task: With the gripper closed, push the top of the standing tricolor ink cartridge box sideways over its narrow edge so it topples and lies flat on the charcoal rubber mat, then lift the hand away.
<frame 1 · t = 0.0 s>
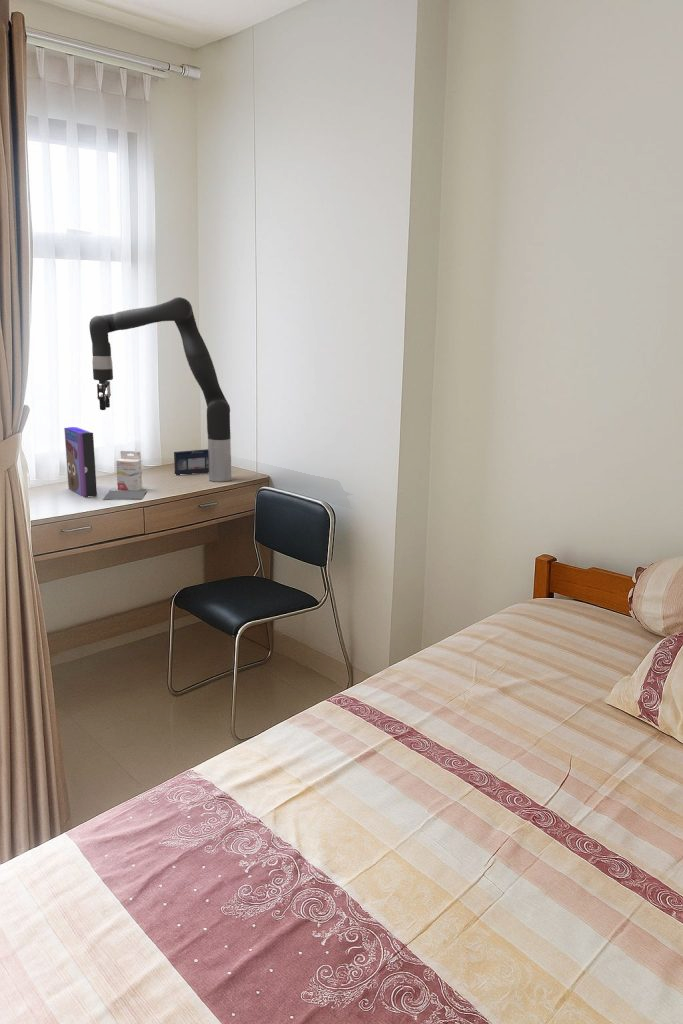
hand: (105, 408, 312), 29 cm above the table, tool pointing down, fingers open, 8 cm apart
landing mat: (125, 495, 293), on the table
ink cartridge box: (130, 489, 304), on the table
vhs cassette tape: (195, 473, 336), on the table
cereal box: (82, 492, 297), on the table
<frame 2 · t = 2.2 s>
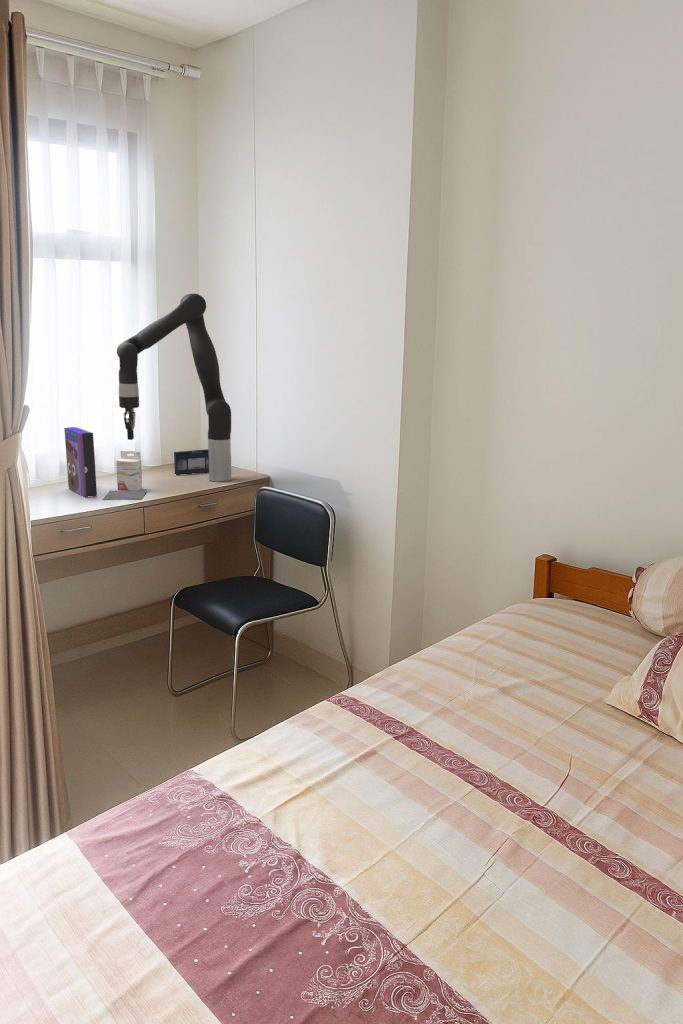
hand: (130, 439, 306), 18 cm above the table, tool pointing down, fingers closed
nothing on the table moved.
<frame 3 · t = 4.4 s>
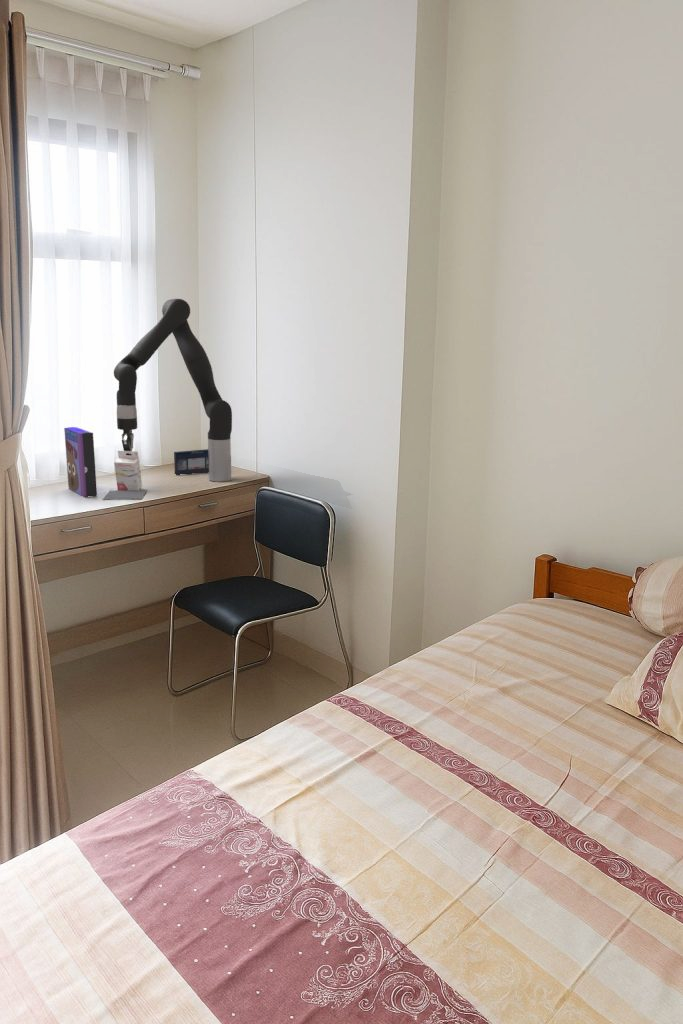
hand: (128, 460, 304), 11 cm above the table, tool pointing down, fingers closed
ink cartridge box: (130, 488, 304), on the table, touching gripper, hand
everything else where it was.
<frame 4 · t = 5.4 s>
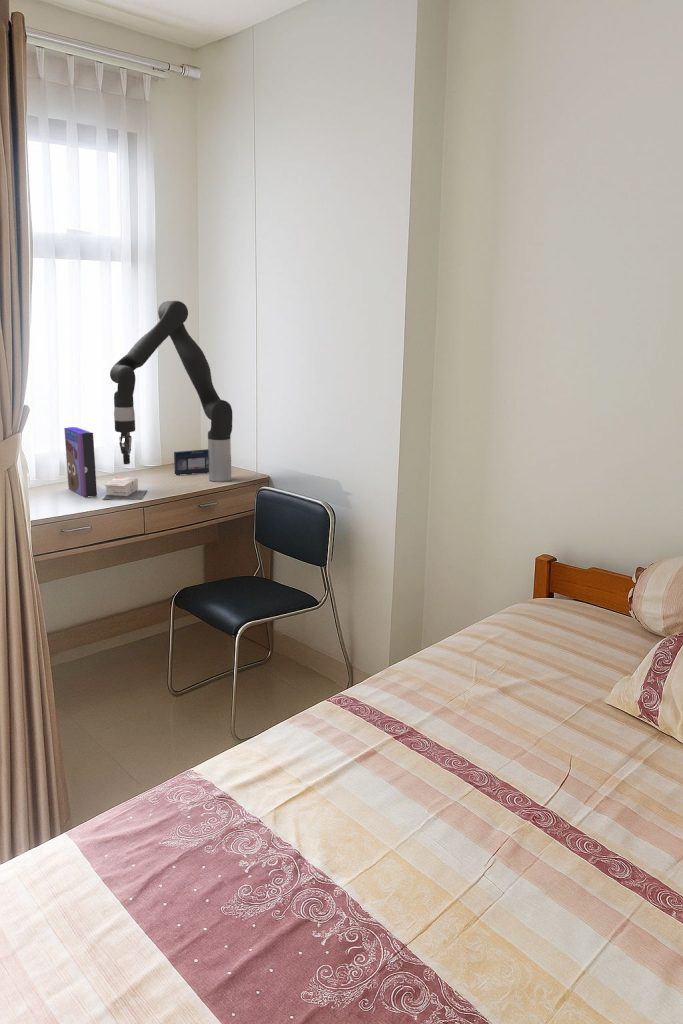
hand: (126, 463, 298), 11 cm above the table, tool pointing down, fingers closed
ink cartridge box: (128, 483, 301), point 3 cm above the table, touching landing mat
everything else where it was.
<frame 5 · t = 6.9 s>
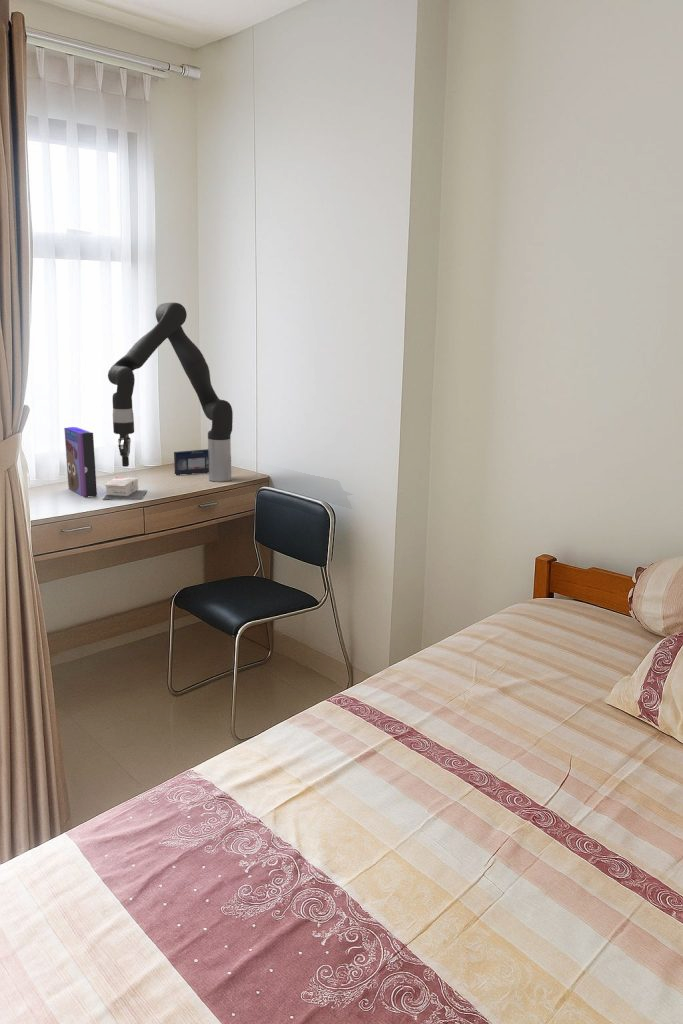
hand: (125, 466, 294), 11 cm above the table, tool pointing down, fingers closed
nothing on the table moved.
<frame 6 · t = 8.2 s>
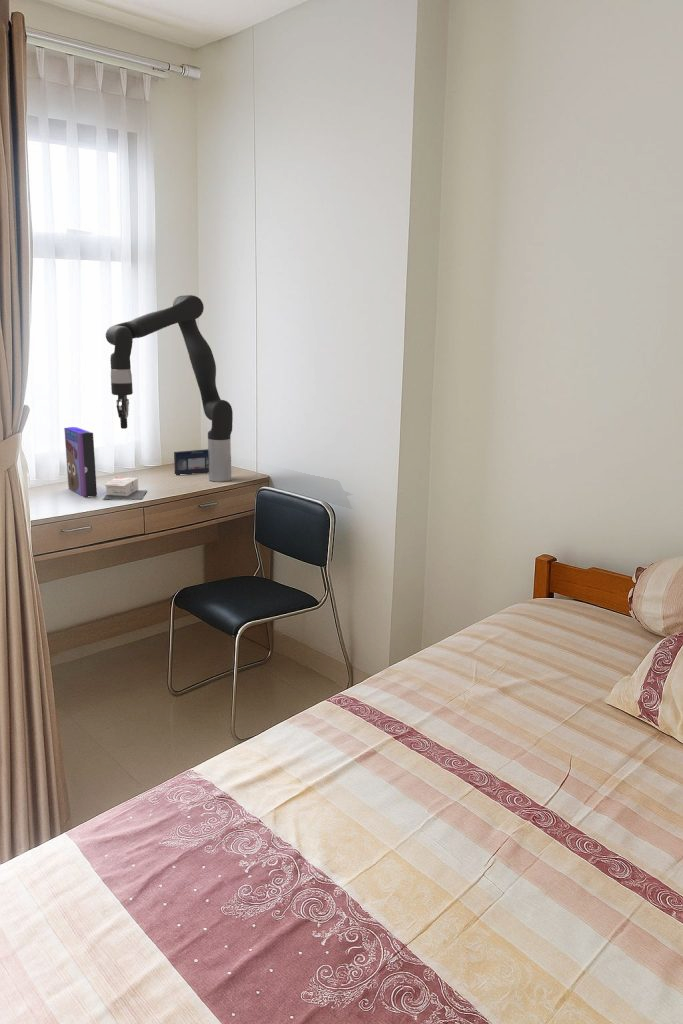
hand: (124, 428, 291), 25 cm above the table, tool pointing down, fingers closed
nothing on the table moved.
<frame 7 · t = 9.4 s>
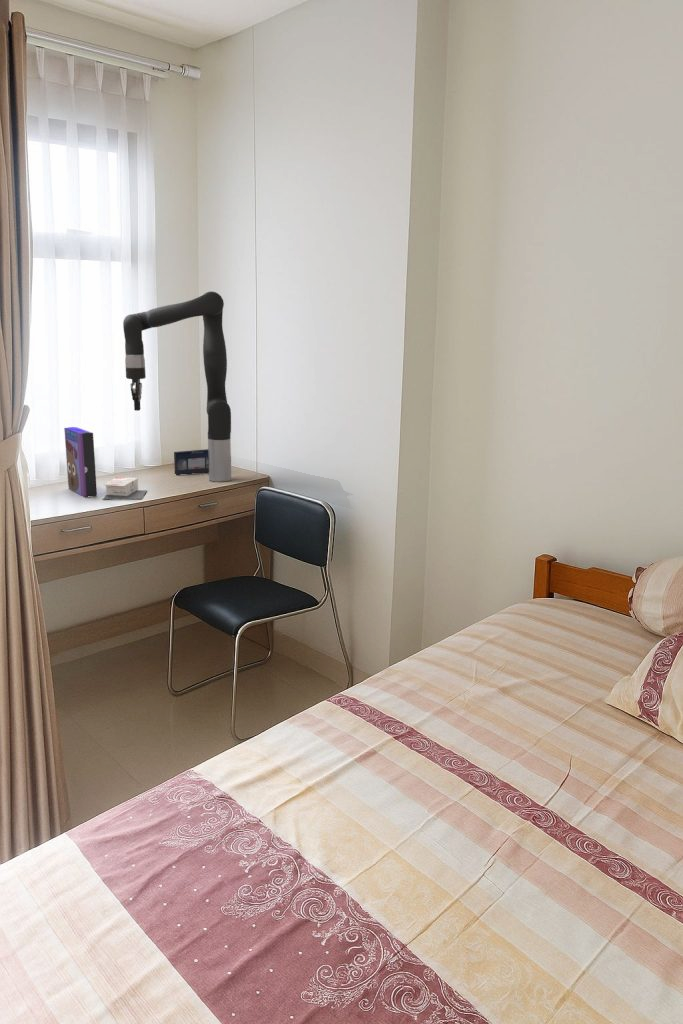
hand: (137, 410, 311), 29 cm above the table, tool pointing down, fingers closed
nothing on the table moved.
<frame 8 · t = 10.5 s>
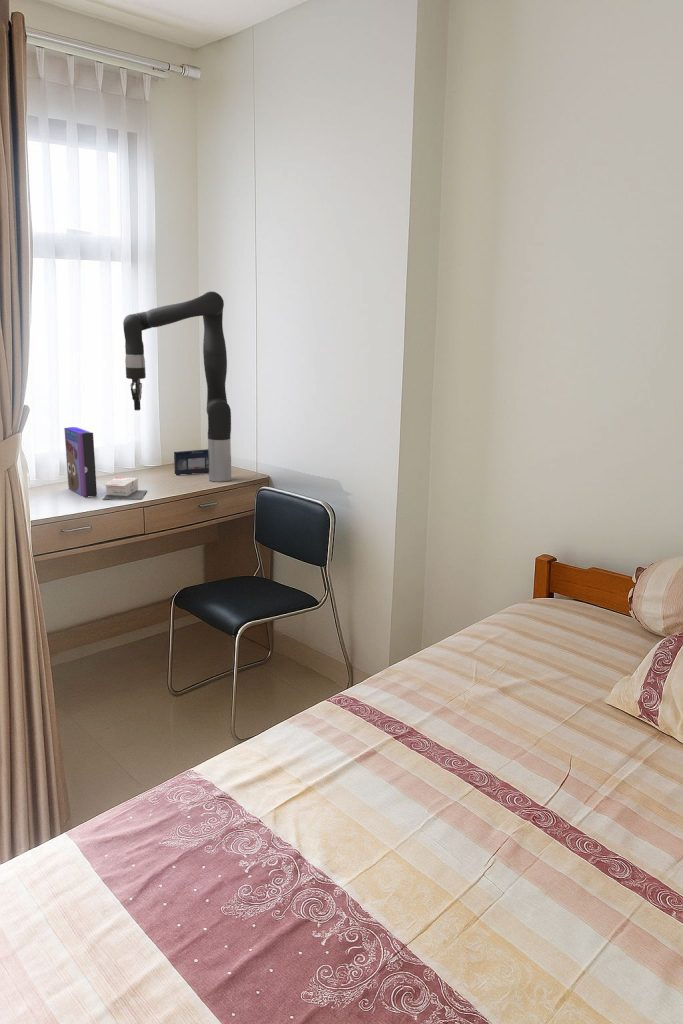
hand: (137, 410, 311), 29 cm above the table, tool pointing down, fingers closed
nothing on the table moved.
at the end: ink cartridge box tilted 88°; ink cartridge box touching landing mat; ink cartridge box inside the target area (1.2 cm from its centre), point 2.6 cm above the table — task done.
